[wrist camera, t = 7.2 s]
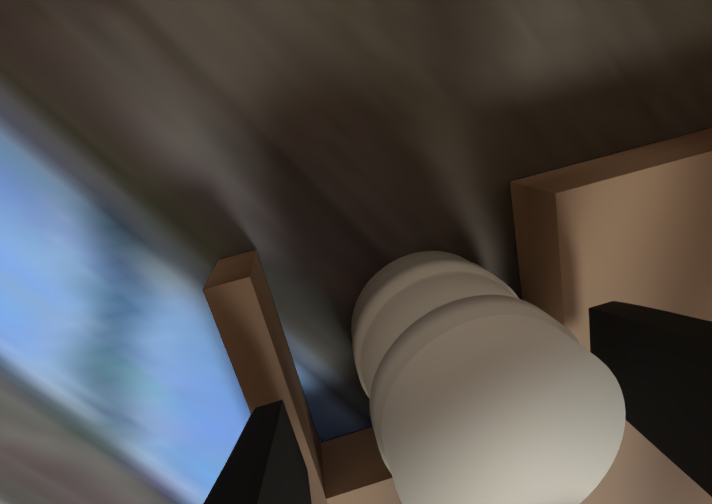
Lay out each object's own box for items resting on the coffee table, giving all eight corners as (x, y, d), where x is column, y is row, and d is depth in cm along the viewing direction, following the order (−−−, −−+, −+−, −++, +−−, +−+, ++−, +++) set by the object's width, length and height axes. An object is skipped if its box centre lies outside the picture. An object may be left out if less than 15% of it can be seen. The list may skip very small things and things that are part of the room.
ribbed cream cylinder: (487, 227, 11) (627, 300, 7) (507, 363, 13) (633, 500, 8) (329, 274, 11) (359, 385, 6) (367, 407, 13) (416, 577, 8)
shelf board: (769, 112, 12) (862, 109, 10) (732, 474, 16) (791, 520, 14) (218, 259, 10) (203, 289, 9) (345, 607, 15) (354, 677, 13)
